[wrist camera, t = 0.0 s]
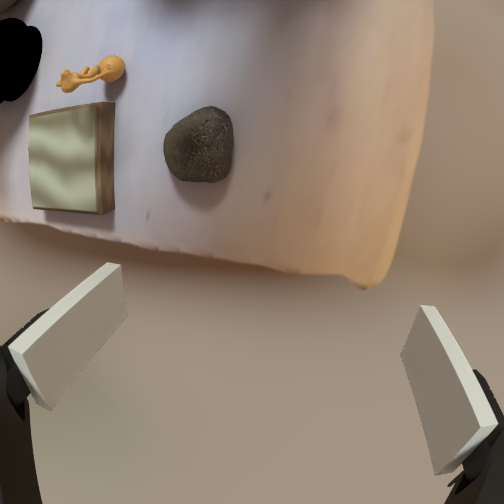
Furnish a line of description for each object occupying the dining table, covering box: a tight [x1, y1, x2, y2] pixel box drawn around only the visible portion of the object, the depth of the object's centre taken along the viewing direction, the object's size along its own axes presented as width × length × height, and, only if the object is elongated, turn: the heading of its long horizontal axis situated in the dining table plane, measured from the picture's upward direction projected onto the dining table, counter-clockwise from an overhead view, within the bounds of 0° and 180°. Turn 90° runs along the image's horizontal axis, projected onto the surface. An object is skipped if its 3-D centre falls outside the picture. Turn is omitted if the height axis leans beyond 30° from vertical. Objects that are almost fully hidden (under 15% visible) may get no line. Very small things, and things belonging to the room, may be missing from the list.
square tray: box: [29, 102, 115, 215], centre depth 39 cm, size 16×16×4 cm
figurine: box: [56, 56, 125, 93], centre depth 29 cm, size 8×6×12 cm
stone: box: [164, 106, 233, 183], centre depth 36 cm, size 10×8×10 cm
